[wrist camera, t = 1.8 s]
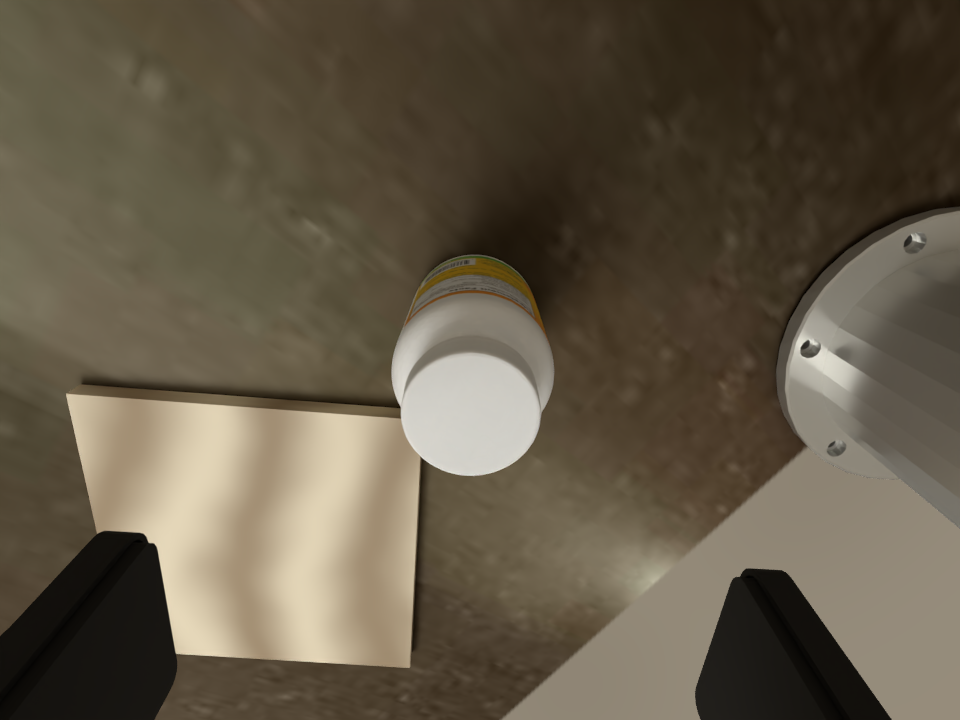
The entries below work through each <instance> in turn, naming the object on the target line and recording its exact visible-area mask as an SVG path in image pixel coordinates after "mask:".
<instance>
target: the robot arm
mask: <svg viewBox="0 0 960 720" xmlns="http://www.w3.org/2000/svg"><path fill="white" fill-rule="evenodd" d="M776 378H777V394H778V397H779V401H780V404H781V408H782V411H783V414H784V416H785V418H786V420H787V421H788V423H789V425H790V426H791V428H792V430H793V431H794V433H795V434H796V435H797V436H798V437H799V438H800V439H801V440H802V441H803V442H804V443H805V444H806V445H807V446H808V448H809V449H810V450H812V451H813V452H814V453H815V454H816V455H818V456H819V457H820V458H821V459H822V460H824V461H825V462H827V463H829V464H831V465H833V466H835V467H837V468H839V469H841V470H843V471H845V472H848V473H852V474H856V475H860V476H864V477H867V478H878V479H892V480H894V479H901V480H902V481H903V482H904V483H906V484H907V485H908V486H909V487H910V488H912V489H913V490H914V491H915V492H916V493H918V494H919V495H920V496H921V497H923V498H924V499H925V500H926V501H927V502H928V503H930V504H931V505H932V506H933V507H934V508H936V509H937V510H938V511H939V512H940V513H942V514H943V515H944V516H945V517H946V518H948V519H949V520H950V521H951V522H953V523H954V524H955V525H956V526H957V527H959V528H960V207H951V208H942V209H934V210H930V211H927V212H923V213H920V214H916V215H913V216H909V217H906V218H903V219H901V220H899V221H897V222H894V223H892V224H890V225H888V226H886V227H884V228H882V229H879V230H877V231H875V232H873V233H872V234H870V235H869V236H867V237H866V238H864V239H863V240H861V241H860V242H858V243H857V244H855V245H854V246H852V247H851V248H849V249H848V250H847V251H845V252H844V253H843V254H842V255H841V256H840V257H839V258H838V259H837V260H836V261H834V262H833V263H832V264H831V265H830V266H829V267H828V268H827V269H826V270H824V271H823V272H822V274H821V275H820V276H819V277H818V279H817V280H816V281H815V282H814V284H813V285H812V286H811V287H810V289H809V290H808V291H807V292H806V293H805V295H804V296H803V298H802V299H801V301H800V303H799V305H798V306H797V308H796V310H795V312H794V313H793V315H792V317H791V319H790V320H789V323H788V326H787V328H786V331H785V334H784V337H783V339H782V342H781V345H780V349H779V356H778V362H777V368H776ZM176 672H177V658H176V652H175V647H174V641H173V635H172V629H171V624H170V618H169V612H168V606H167V601H166V595H165V589H164V584H163V578H162V572H161V566H160V561H159V555H158V550H157V547H156V545H155V544H154V543H148V540H147V537H146V536H145V535H144V534H143V533H137V532H120V531H102V532H100V533H98V534H97V535H96V536H95V537H93V539H92V540H91V541H90V542H89V543H88V544H87V545H86V546H85V547H84V548H83V549H82V550H81V551H80V553H79V554H78V555H77V556H76V557H75V558H74V559H73V560H72V561H71V562H70V563H69V564H68V565H67V566H66V568H65V569H64V570H63V571H62V572H61V573H60V574H59V575H58V576H57V577H56V578H55V579H54V580H53V581H52V583H51V584H50V585H49V586H48V587H47V588H46V589H45V590H44V591H43V592H42V593H41V594H40V595H39V596H38V598H37V599H36V600H35V601H34V602H33V603H32V604H31V605H30V606H29V607H28V608H27V609H26V610H25V611H24V613H23V614H22V615H21V616H20V617H19V618H18V619H17V620H16V621H15V622H14V623H13V624H12V625H11V626H10V628H9V629H7V630H6V631H5V632H4V633H3V634H2V635H1V636H0V720H154V719H155V717H156V715H157V713H158V712H159V710H160V708H161V706H162V704H163V702H164V700H165V699H166V697H167V695H168V693H169V691H170V689H171V687H172V685H173V682H174V680H175V676H176ZM695 698H696V706H697V710H698V714H699V716H700V719H701V720H891V718H890V717H889V715H888V714H887V713H886V711H885V710H884V708H883V707H882V705H881V704H880V703H879V701H878V700H877V698H876V697H875V695H874V694H873V693H872V691H871V690H870V688H869V687H868V686H867V684H866V683H865V681H864V680H863V679H862V677H861V676H860V675H859V673H858V671H857V670H856V669H855V667H854V666H853V665H852V663H851V662H850V660H849V659H848V657H847V656H846V655H845V654H844V652H843V650H842V649H841V648H840V646H839V645H838V643H837V642H836V640H835V639H834V638H833V636H832V635H831V633H830V632H829V631H828V629H827V628H826V627H825V625H824V624H823V622H822V621H821V619H820V618H819V617H818V615H817V614H816V612H815V611H814V609H813V608H812V607H811V605H810V604H809V602H808V601H807V600H806V598H805V597H804V595H803V594H802V593H801V591H800V590H799V588H798V587H797V585H796V584H795V583H794V581H793V580H792V579H791V577H790V576H789V575H788V574H787V573H786V572H784V571H782V570H766V569H745V570H744V571H743V572H742V574H741V576H740V577H735V578H734V579H733V580H732V582H731V584H730V587H729V590H728V594H727V596H726V599H725V602H724V606H723V608H722V611H721V615H720V617H719V621H718V623H717V626H716V629H715V633H714V635H713V638H712V641H711V645H710V647H709V650H708V653H707V656H706V659H705V662H704V665H703V668H702V671H701V674H700V677H699V680H698V683H697V686H696V691H695Z"/></svg>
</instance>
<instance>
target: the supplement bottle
mask: <svg viewBox="0 0 960 720" xmlns="http://www.w3.org/2000/svg"><path fill="white" fill-rule="evenodd" d="M553 381H554V362H553V357H552V352H551V348H550V344H549V342H548V339H547V336H546V333H545V329H544V326H543V323H542V320H541V318H540V314H539V311H538V308H537V305H536V302H535V299H534V297H533V294H532V292H531V290H530V288H529V286H528V284H527V283H526V281H525V280H524V279H523V277H522V276H521V275H520V274H519V273H518V272H517V271H516V270H515V269H513V268H512V267H511V266H509V265H508V264H506V263H504V262H503V261H501V260H498V259H496V258H493V257H490V256H485V255H464V256H459V257H455V258H452V259H450V260H447V261H445V262H443V263H442V264H440V265H439V266H437V267H436V268H435V269H433V270H432V271H431V272H430V273H429V274H428V275H427V276H426V278H425V279H424V280H423V282H422V283H421V285H420V287H419V288H418V290H417V292H416V295H415V297H414V300H413V302H412V305H411V308H410V310H409V313H408V316H407V318H406V321H405V324H404V326H403V329H402V331H401V334H400V336H399V339H398V341H397V344H396V348H395V351H394V355H393V360H392V383H393V388H394V392H395V395H396V398H397V401H398V403H399V405H400V407H401V422H402V426H403V430H404V433H405V436H406V438H407V440H408V442H409V443H410V445H411V446H412V447H413V449H414V450H415V451H416V452H417V453H418V454H419V455H420V456H421V457H422V458H423V459H424V460H425V461H427V462H428V463H430V464H431V465H433V466H435V467H437V468H439V469H441V470H443V471H446V472H449V473H453V474H458V475H466V476H475V475H484V474H489V473H493V472H496V471H499V470H501V469H503V468H505V467H507V466H509V465H511V464H512V463H514V462H515V461H517V460H518V459H519V458H520V457H521V456H522V455H523V454H524V453H525V452H526V451H527V450H528V448H529V447H530V446H531V444H532V443H533V441H534V439H535V437H536V435H537V432H538V429H539V426H540V419H541V412H542V411H543V409H544V408H545V406H546V404H547V402H548V399H549V397H550V394H551V391H552V387H553Z"/></svg>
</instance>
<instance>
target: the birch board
mask: <svg viewBox="0 0 960 720" xmlns="http://www.w3.org/2000/svg"><path fill="white" fill-rule="evenodd" d="M66 396H67V401H68V405H69V409H70V414H71V418H72V423H73V427H74V432H75V436H76V441H77V445H78V450H79V454H80V459H81V463H82V468H83V472H84V476H85V481H86V485H87V490H88V494H89V499H90V503H91V508H92V512H93V517H94V521H95V526H96V530H97V534H98V533H100V532H102V531H120V532H137V533H143V534H144V535H145V536H146V537H147V540H148V543H154V544H155V545H156V547H157V550H158V555H159V561H160V566H161V572H162V578H163V584H164V589H165V595H166V601H167V606H168V612H169V618H170V624H171V629H172V635H173V641H174V647H175V652H176V654H189V655H205V656H222V657H238V658H255V659H272V660H288V661H305V662H322V663H338V664H355V665H372V666H388V667H405V668H410V662H411V655H412V639H413V619H414V599H415V580H416V560H417V541H418V521H419V501H420V482H421V462H422V457H421V456H420V455H419V454H418V453H417V452H416V451H415V450H414V449H413V447H412V446H411V445H410V443H409V442H408V440H407V438H406V436H405V433H404V430H403V426H402V422H401V408H390V407H377V406H364V405H350V404H337V403H323V402H310V401H297V400H283V399H270V398H256V397H243V396H230V395H216V394H203V393H190V392H176V391H163V390H149V389H136V388H123V387H109V386H96V385H83V384H81V385H79V386H77V387H76V388H74V389H73V390H71V391H70V392H68V393H66Z"/></svg>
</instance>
